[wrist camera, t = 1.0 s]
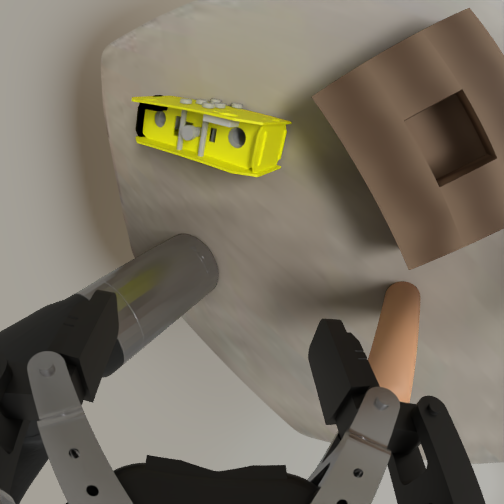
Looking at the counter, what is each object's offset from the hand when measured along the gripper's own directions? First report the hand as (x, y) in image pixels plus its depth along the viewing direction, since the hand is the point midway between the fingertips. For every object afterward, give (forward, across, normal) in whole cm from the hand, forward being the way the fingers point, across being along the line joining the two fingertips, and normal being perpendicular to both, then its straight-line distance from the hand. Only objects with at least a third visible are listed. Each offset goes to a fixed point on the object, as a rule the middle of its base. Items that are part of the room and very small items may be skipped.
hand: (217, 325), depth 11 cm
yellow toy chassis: (+26, -1, +6) cm, 26 cm away
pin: (+14, +20, -6) cm, 25 cm away
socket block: (+13, +17, +11) cm, 24 cm away
